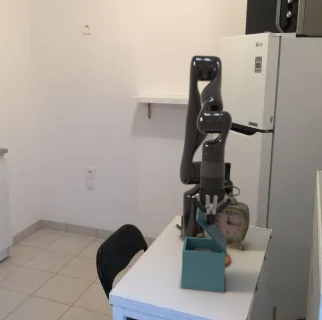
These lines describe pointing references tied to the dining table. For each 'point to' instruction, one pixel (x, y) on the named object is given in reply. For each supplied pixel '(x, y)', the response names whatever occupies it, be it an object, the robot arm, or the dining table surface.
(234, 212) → the tabletop clock
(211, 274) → the teal open box
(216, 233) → the teal box lid
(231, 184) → the wine bottle
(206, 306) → the dining table surface
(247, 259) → the dining table surface
